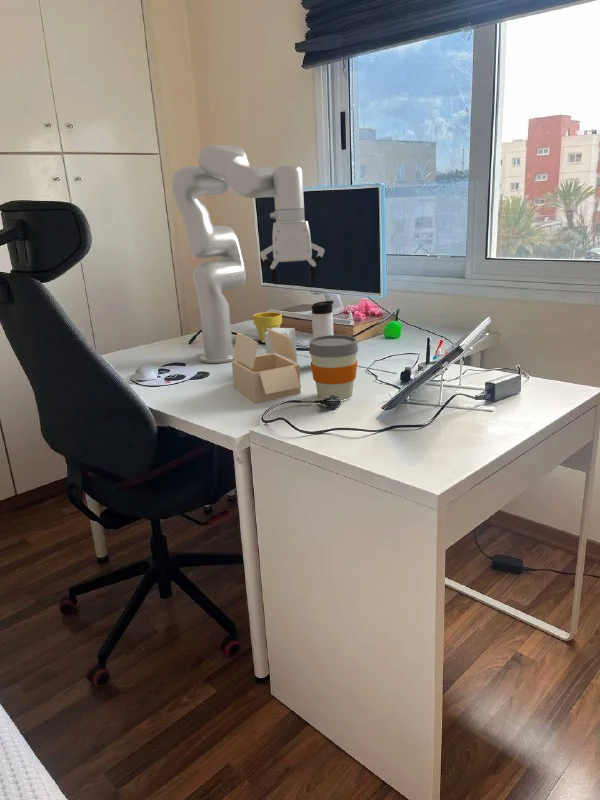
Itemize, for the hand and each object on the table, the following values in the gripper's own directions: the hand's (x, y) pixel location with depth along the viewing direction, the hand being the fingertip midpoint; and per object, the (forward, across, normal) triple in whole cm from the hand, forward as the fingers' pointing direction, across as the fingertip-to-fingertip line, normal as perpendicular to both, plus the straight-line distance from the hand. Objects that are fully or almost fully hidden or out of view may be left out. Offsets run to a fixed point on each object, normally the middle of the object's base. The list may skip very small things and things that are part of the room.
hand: (293, 282), depth 163 cm
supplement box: (+28, -4, +12) cm, 31 cm away
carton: (+28, -10, -6) cm, 30 cm away
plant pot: (+28, -8, +53) cm, 60 cm away
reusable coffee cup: (+28, +8, -15) cm, 33 cm away
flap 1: (+16, -14, -9) cm, 23 cm away
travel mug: (+28, +9, +14) cm, 33 cm away
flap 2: (+16, -5, -4) cm, 17 cm away
